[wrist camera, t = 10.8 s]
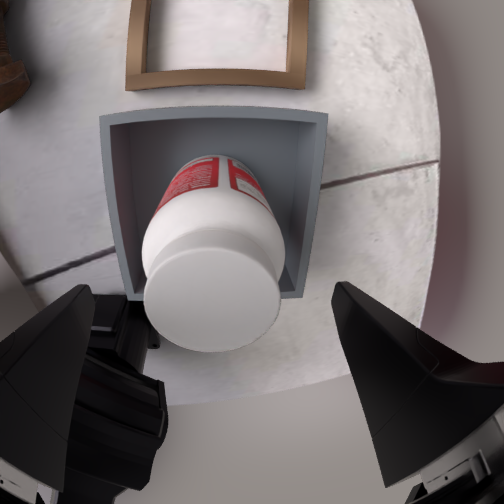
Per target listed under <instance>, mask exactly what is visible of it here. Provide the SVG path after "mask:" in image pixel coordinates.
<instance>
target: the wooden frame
mask: <svg viewBox="0 0 504 504" xmlns="http://www.w3.org/2000/svg"><path fill="white" fill-rule="evenodd" d="M150 8H151V0H132V2H131V10H130V18H129V28H128V40H127V56H126V86H125V91H136V90H145V89H154V88H165V87H179V86H201V85H239V86H262V87H276V88H287V89H296V90H303V89H305V78H306V60H307V39H308V8H309V0H289V13H288V37H287V58H286V72H280V71H268V70H253V69H187V70H172V71H160V72H151V73H146V57H147V41H148V28H149V17H150Z"/></svg>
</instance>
